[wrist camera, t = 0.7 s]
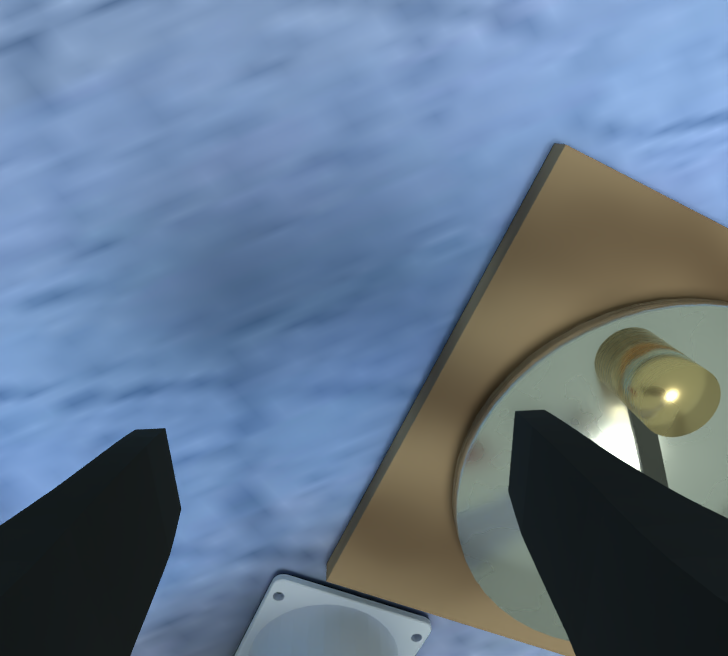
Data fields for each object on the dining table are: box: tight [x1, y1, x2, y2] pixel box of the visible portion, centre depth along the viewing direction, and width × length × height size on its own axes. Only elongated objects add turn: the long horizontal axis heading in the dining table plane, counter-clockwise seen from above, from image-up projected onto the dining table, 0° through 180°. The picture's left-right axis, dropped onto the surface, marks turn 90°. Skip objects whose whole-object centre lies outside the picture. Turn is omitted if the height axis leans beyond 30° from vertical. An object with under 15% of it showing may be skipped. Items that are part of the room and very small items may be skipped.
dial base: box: [326, 143, 728, 656], centre depth 23 cm, size 20×20×2 cm
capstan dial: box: [452, 298, 728, 641], centre depth 21 cm, size 16×16×4 cm
